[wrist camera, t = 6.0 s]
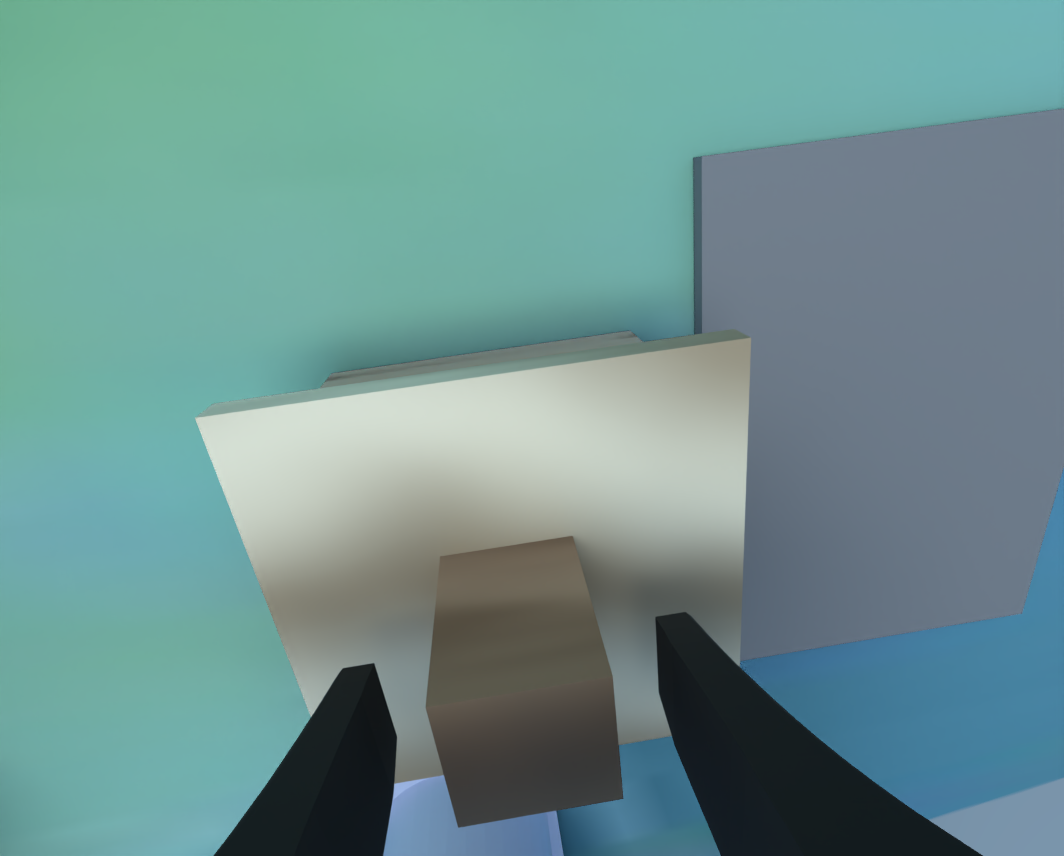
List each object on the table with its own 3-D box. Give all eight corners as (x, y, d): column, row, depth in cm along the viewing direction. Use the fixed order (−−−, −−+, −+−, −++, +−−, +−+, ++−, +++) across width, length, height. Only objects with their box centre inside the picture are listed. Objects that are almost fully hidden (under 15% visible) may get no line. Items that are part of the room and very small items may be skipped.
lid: (725, 700, 16) (819, 889, 12) (346, 765, 16) (296, 985, 11) (733, 328, 12) (887, 407, 7) (212, 404, 11) (48, 533, 7)
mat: (1008, 603, 23) (1021, 613, 22) (696, 655, 22) (702, 667, 22) (1144, 98, 16) (1169, 94, 15) (693, 158, 15) (701, 156, 15)
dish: (642, 571, 20) (691, 681, 16) (397, 611, 20) (374, 735, 15) (629, 330, 17) (688, 380, 12) (331, 373, 16) (276, 442, 12)
